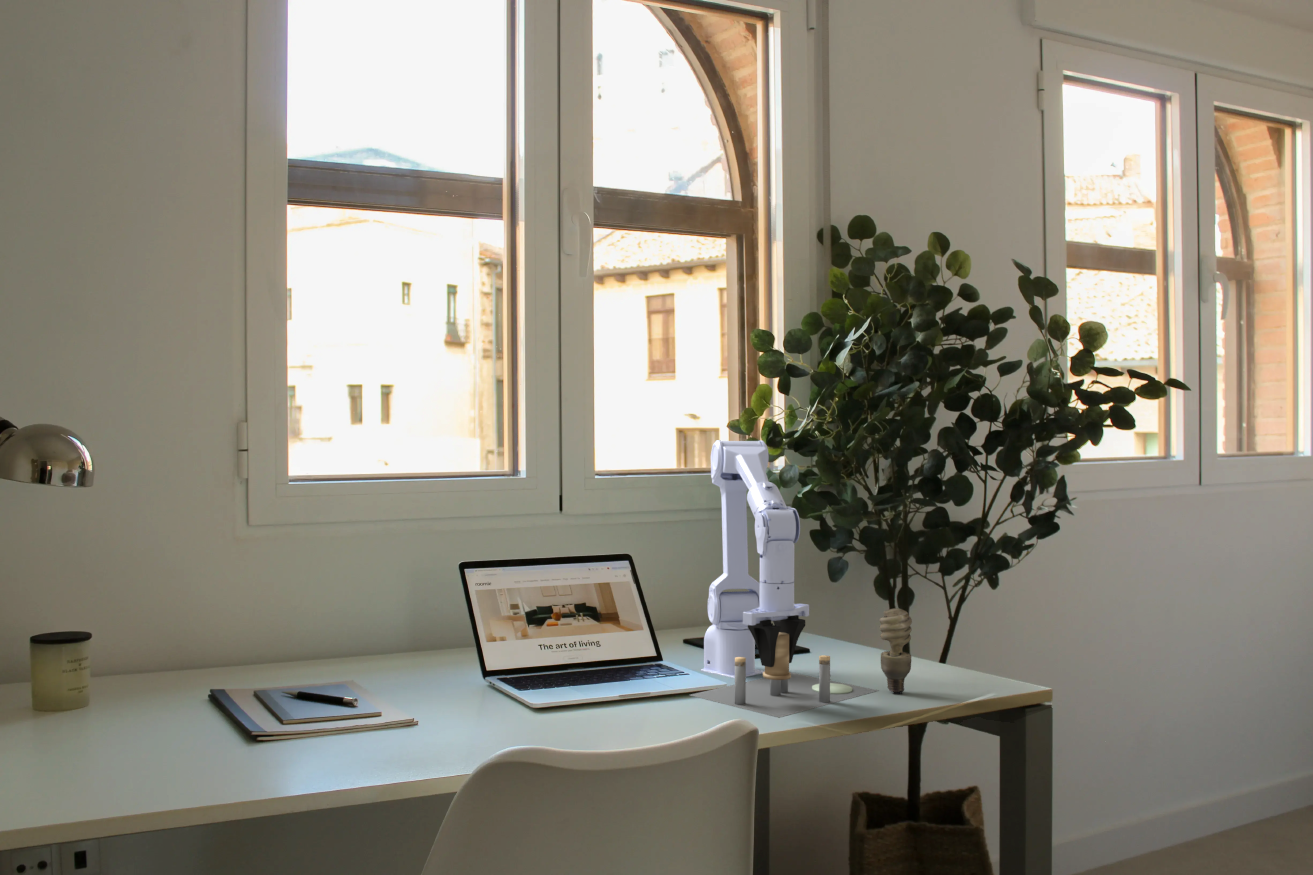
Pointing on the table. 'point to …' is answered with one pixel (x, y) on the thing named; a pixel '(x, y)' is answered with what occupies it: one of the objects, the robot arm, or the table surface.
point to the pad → (835, 688)
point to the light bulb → (896, 648)
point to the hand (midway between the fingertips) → (776, 664)
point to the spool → (780, 660)
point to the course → (780, 691)
